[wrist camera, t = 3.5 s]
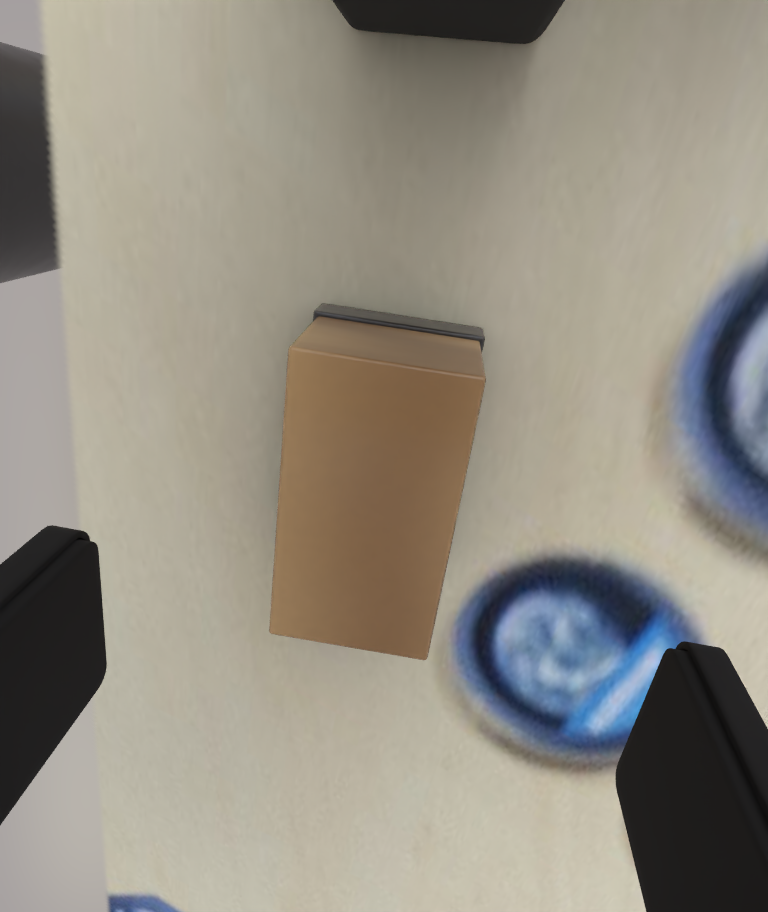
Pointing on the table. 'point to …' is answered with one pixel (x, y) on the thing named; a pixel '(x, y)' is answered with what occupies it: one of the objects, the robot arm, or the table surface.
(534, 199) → the table surface
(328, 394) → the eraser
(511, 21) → the battery
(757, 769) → the robot arm
